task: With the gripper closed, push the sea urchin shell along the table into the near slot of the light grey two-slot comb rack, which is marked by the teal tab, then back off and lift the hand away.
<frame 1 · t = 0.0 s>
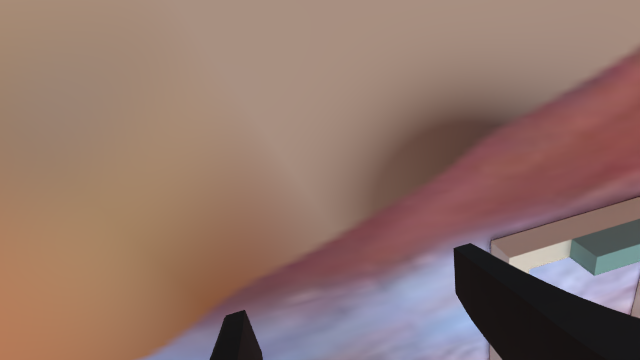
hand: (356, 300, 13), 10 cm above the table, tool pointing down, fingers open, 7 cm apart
comb rack: (570, 324, 32), on the table
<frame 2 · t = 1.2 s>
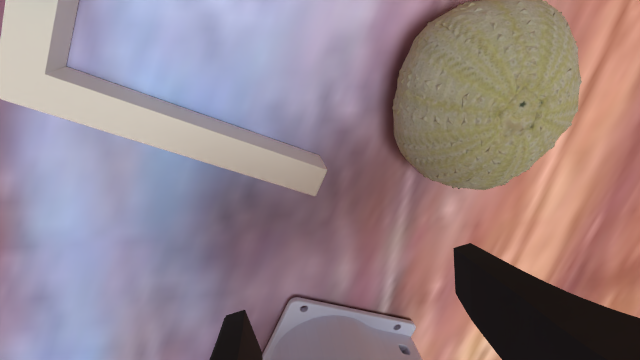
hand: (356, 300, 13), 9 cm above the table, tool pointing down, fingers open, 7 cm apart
comb rack: (332, 27, 17), on the table
sea urchin shell: (461, 89, 20), on the table
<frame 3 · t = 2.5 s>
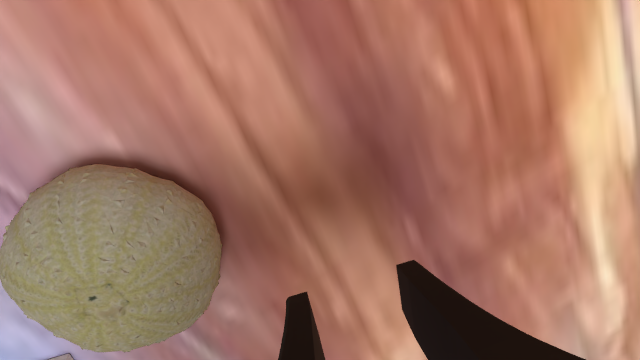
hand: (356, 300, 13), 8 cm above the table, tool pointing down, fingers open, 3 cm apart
sea urchin shell: (132, 234, 20), on the table
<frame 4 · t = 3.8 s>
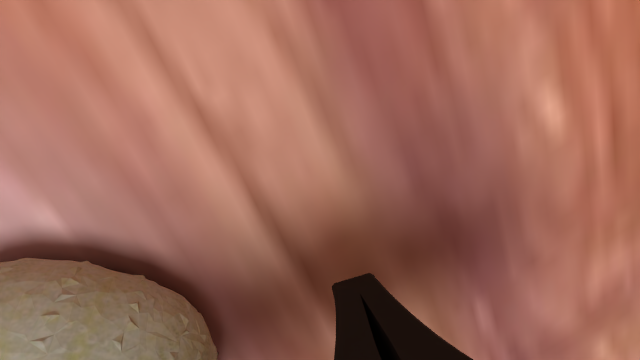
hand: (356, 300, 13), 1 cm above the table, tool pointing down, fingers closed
sea urchin shell: (89, 341, 13), on the table
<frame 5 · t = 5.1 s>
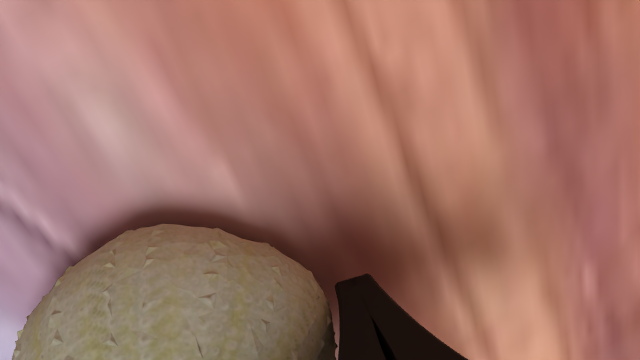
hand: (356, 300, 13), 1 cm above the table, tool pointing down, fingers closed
sea urchin shell: (197, 312, 14), on the table, touching gripper
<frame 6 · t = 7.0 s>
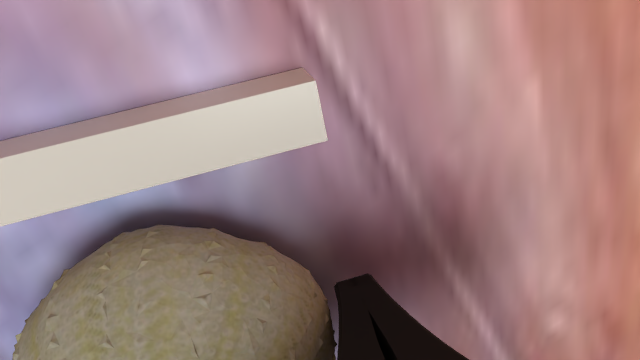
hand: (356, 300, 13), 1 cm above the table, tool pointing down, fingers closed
comb rack: (293, 289, 14), on the table
sea urchin shell: (197, 313, 14), on the table, touching gripper
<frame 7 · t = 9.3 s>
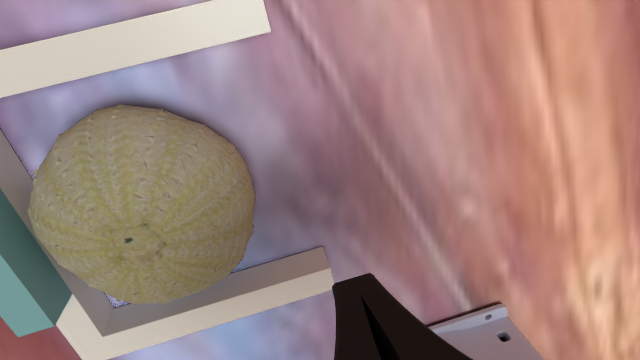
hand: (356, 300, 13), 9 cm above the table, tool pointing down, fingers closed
comb rack: (260, 163, 19), on the table
sea urchin shell: (161, 187, 19), on the table
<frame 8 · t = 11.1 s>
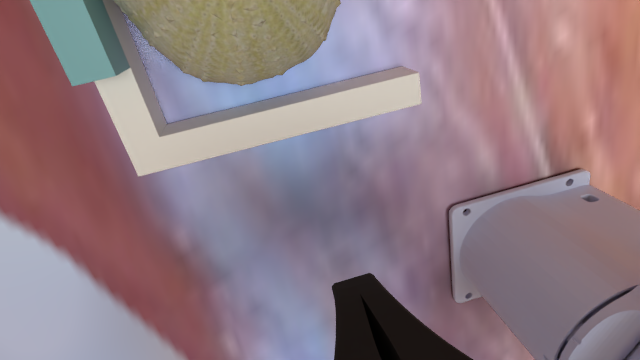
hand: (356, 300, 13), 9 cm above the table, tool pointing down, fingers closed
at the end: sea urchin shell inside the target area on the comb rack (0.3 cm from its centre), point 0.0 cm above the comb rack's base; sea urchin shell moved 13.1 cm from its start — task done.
